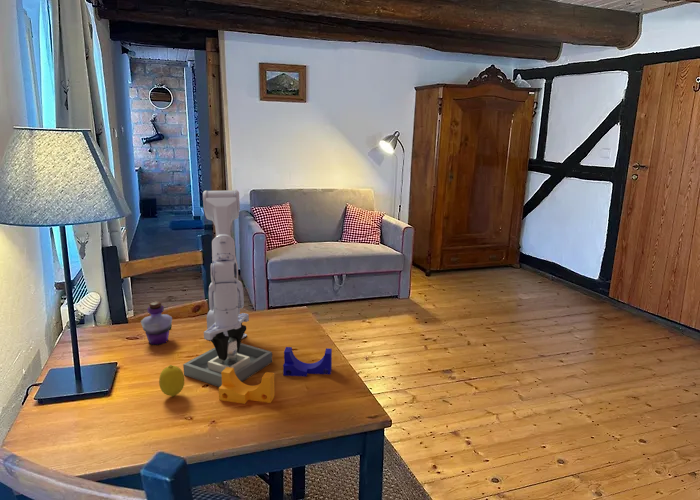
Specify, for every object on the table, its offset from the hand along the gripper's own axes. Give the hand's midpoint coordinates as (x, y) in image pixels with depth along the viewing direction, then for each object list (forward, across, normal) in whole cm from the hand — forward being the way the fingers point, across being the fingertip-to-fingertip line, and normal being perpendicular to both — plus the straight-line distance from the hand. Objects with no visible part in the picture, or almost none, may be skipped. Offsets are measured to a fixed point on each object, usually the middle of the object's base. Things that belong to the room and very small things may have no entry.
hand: (228, 355), depth 130 cm
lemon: (+4, -17, +2) cm, 18 cm away
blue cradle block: (+4, +9, -19) cm, 21 cm away
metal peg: (+2, 0, 0) cm, 2 cm away
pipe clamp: (+4, -9, -14) cm, 17 cm away
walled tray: (+4, 0, 0) cm, 4 cm away
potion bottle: (+4, +2, +29) cm, 29 cm away
